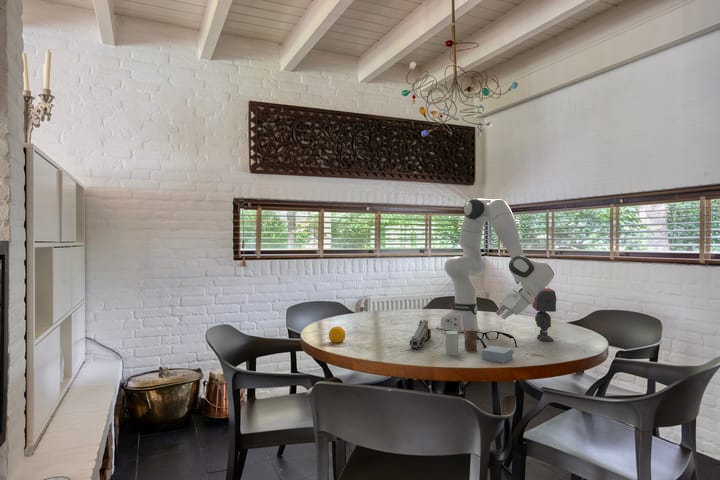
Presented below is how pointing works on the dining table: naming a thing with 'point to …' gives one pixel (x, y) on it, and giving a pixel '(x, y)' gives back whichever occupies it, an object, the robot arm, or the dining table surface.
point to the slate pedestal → (497, 354)
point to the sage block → (451, 342)
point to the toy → (420, 335)
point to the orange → (337, 335)
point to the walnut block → (470, 340)
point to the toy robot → (544, 312)
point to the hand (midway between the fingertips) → (499, 316)
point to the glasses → (496, 338)
